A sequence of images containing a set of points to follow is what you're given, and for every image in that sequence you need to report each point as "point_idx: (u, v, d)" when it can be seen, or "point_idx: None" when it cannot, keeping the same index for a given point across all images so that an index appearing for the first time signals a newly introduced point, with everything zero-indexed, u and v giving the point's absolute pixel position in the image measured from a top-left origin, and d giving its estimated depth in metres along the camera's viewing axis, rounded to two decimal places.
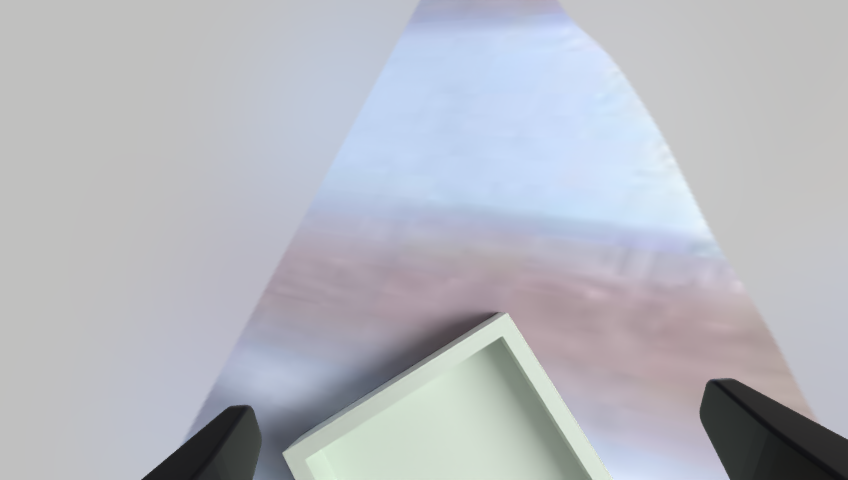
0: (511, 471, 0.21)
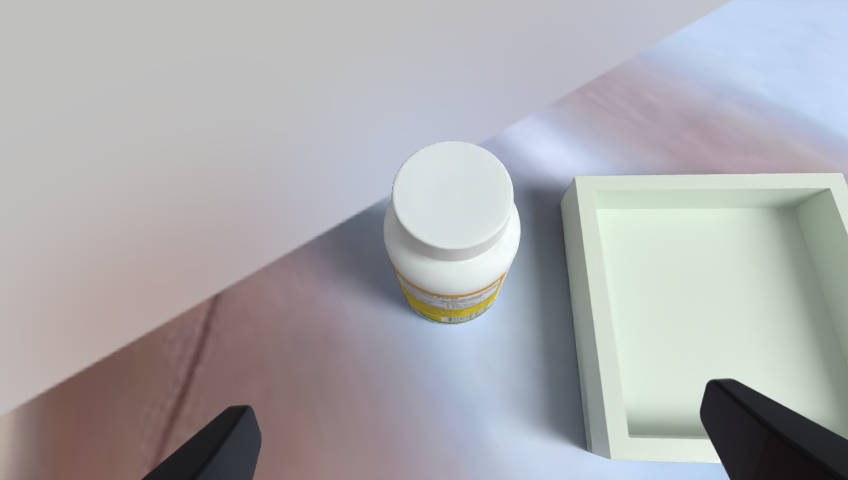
0: (764, 325, 0.20)
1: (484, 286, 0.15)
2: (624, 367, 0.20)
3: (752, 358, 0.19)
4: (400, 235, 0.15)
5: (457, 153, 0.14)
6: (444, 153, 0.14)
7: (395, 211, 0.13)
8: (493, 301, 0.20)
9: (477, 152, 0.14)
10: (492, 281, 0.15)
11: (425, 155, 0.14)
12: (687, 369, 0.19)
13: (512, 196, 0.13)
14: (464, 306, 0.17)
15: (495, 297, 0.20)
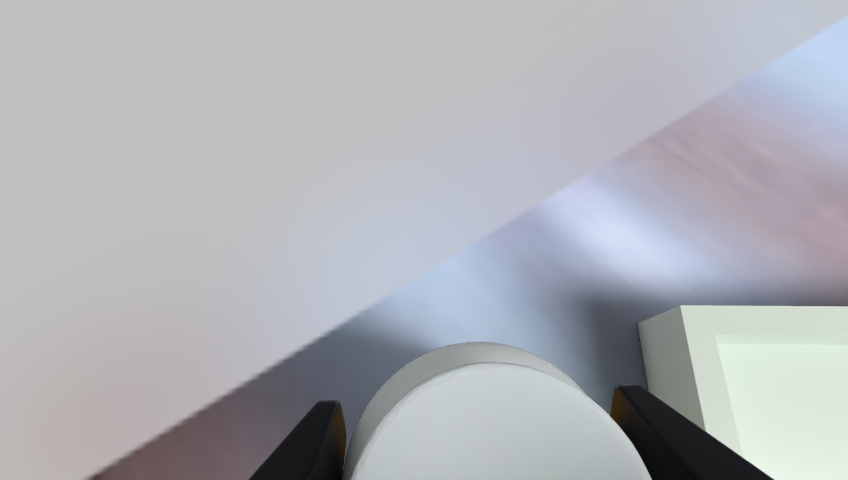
0: None
1: None
2: None
3: None
4: None
5: (512, 404, 0.06)
6: (479, 403, 0.06)
7: None
8: None
9: (563, 404, 0.06)
10: None
11: (431, 408, 0.06)
12: None
13: None
14: None
15: None
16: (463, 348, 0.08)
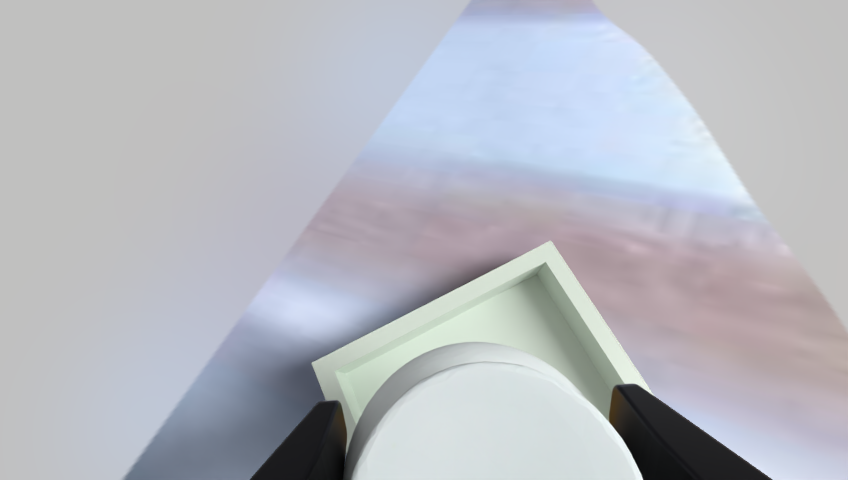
0: None
1: None
2: None
3: None
4: None
5: (507, 402, 0.06)
6: (476, 401, 0.06)
7: None
8: None
9: (556, 402, 0.06)
10: None
11: (429, 406, 0.06)
12: None
13: None
14: None
15: None
16: (460, 348, 0.08)
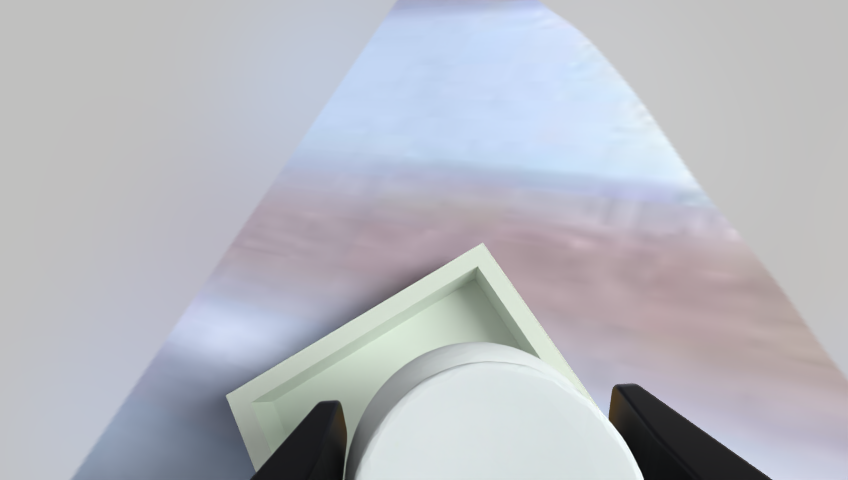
0: None
1: None
2: None
3: None
4: None
5: (509, 402, 0.06)
6: (478, 400, 0.06)
7: None
8: None
9: (557, 401, 0.06)
10: None
11: (432, 405, 0.06)
12: None
13: None
14: None
15: None
16: (461, 349, 0.08)
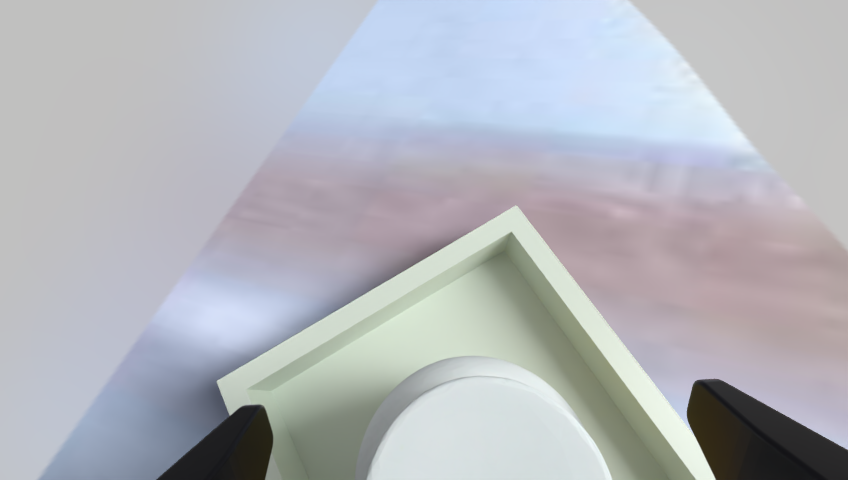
0: None
1: None
2: None
3: None
4: None
5: (497, 411, 0.07)
6: (471, 409, 0.07)
7: None
8: None
9: (538, 410, 0.07)
10: None
11: (431, 413, 0.07)
12: None
13: None
14: None
15: None
16: (458, 362, 0.09)
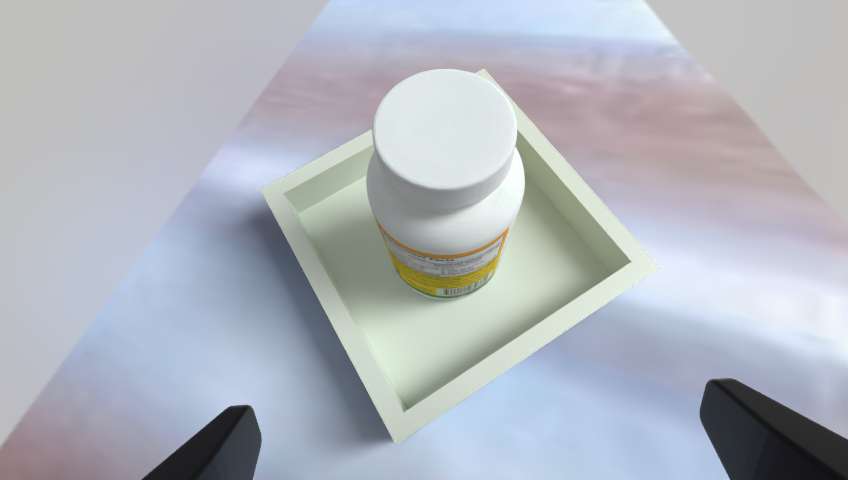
0: None
1: (484, 243, 0.13)
2: (397, 339, 0.19)
3: None
4: (385, 185, 0.13)
5: (449, 82, 0.12)
6: (434, 82, 0.12)
7: (376, 149, 0.11)
8: (494, 272, 0.18)
9: (473, 80, 0.12)
10: (493, 237, 0.13)
11: (411, 85, 0.12)
12: (450, 307, 0.19)
13: (515, 128, 0.11)
14: (461, 272, 0.15)
15: (496, 267, 0.18)
16: None
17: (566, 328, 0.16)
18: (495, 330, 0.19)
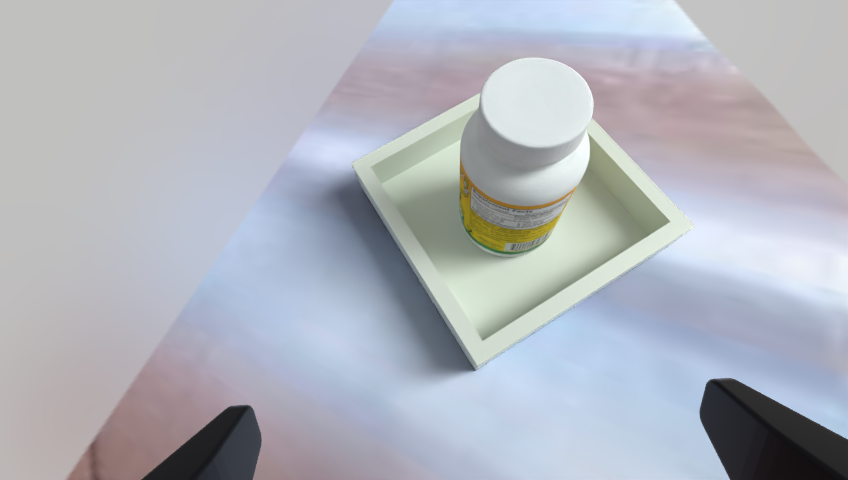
0: None
1: (559, 196, 0.17)
2: (467, 289, 0.22)
3: None
4: (480, 150, 0.17)
5: (538, 67, 0.15)
6: (526, 68, 0.15)
7: (485, 118, 0.15)
8: (552, 231, 0.22)
9: (556, 66, 0.15)
10: (566, 192, 0.17)
11: (508, 70, 0.15)
12: (512, 263, 0.23)
13: (592, 102, 0.15)
14: (533, 225, 0.19)
15: (554, 227, 0.21)
16: None
17: (616, 275, 0.20)
18: (551, 282, 0.22)
